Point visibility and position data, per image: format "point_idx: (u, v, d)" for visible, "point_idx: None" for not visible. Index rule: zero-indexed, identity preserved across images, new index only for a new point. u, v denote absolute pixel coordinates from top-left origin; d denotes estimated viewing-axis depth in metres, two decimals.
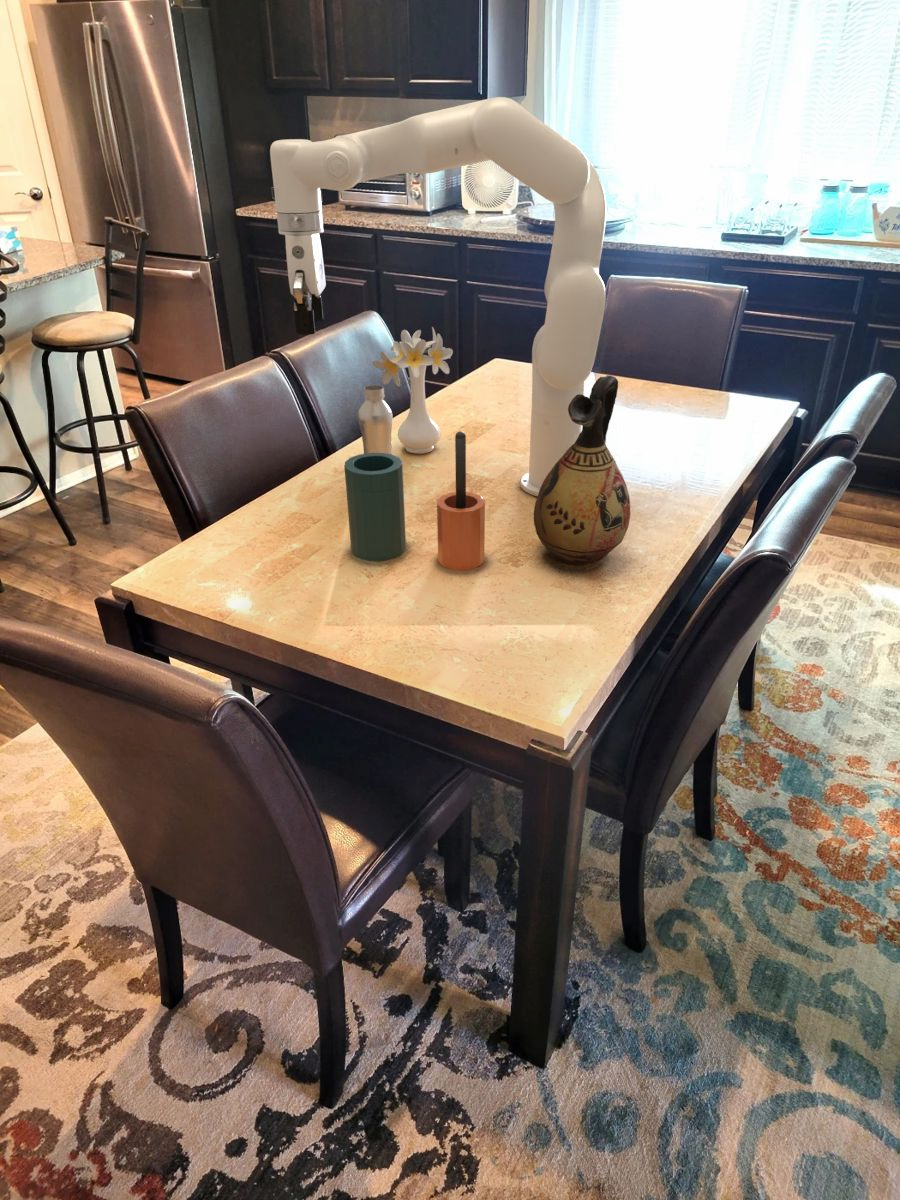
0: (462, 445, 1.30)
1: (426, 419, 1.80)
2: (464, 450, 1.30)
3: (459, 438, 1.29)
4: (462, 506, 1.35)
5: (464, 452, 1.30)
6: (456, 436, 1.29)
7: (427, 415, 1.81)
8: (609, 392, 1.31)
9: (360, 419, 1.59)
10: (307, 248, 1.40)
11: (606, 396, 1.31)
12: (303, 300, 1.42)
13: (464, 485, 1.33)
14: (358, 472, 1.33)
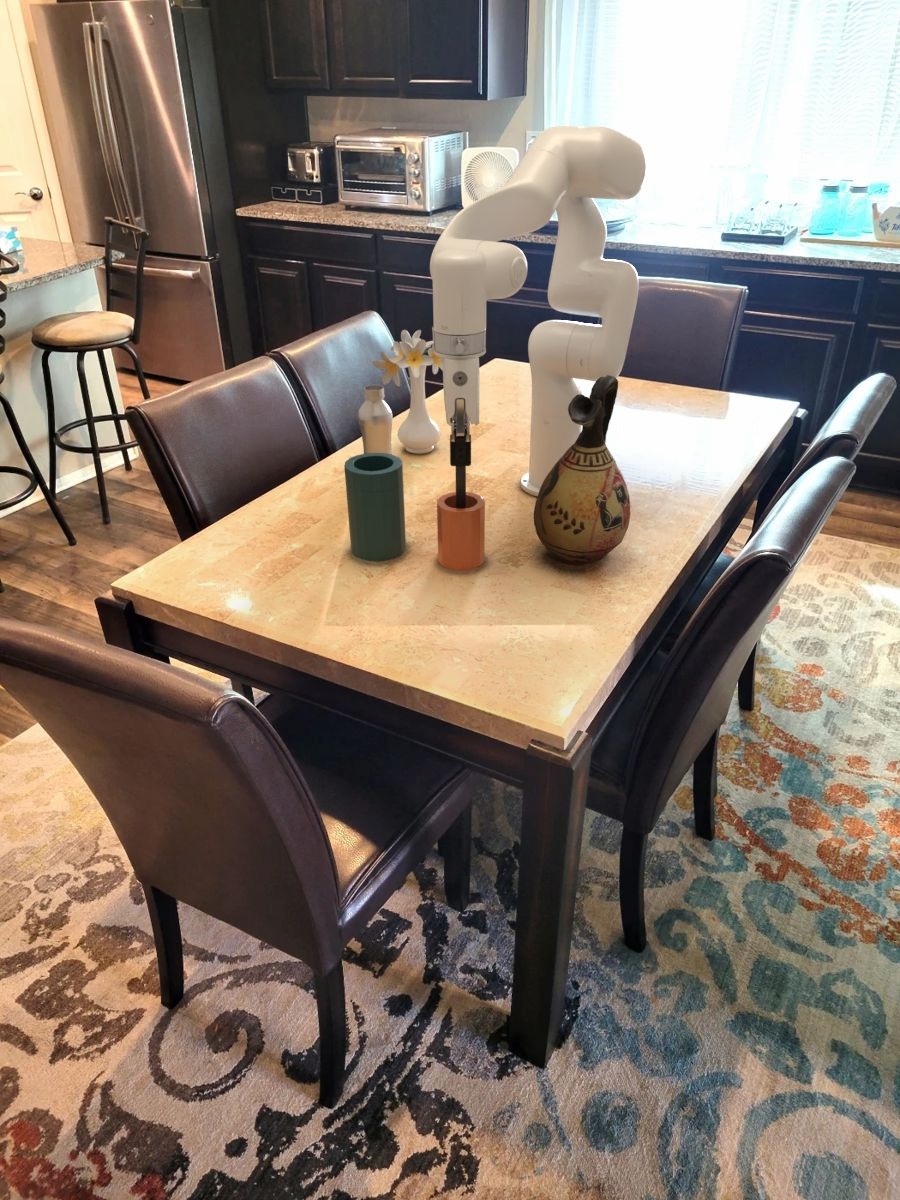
0: None
1: (426, 419, 1.80)
2: None
3: None
4: (462, 506, 1.35)
5: None
6: None
7: (427, 415, 1.81)
8: (609, 392, 1.31)
9: (360, 419, 1.59)
10: (471, 374, 1.20)
11: (606, 396, 1.31)
12: (464, 433, 1.25)
13: (464, 485, 1.33)
14: (358, 472, 1.33)
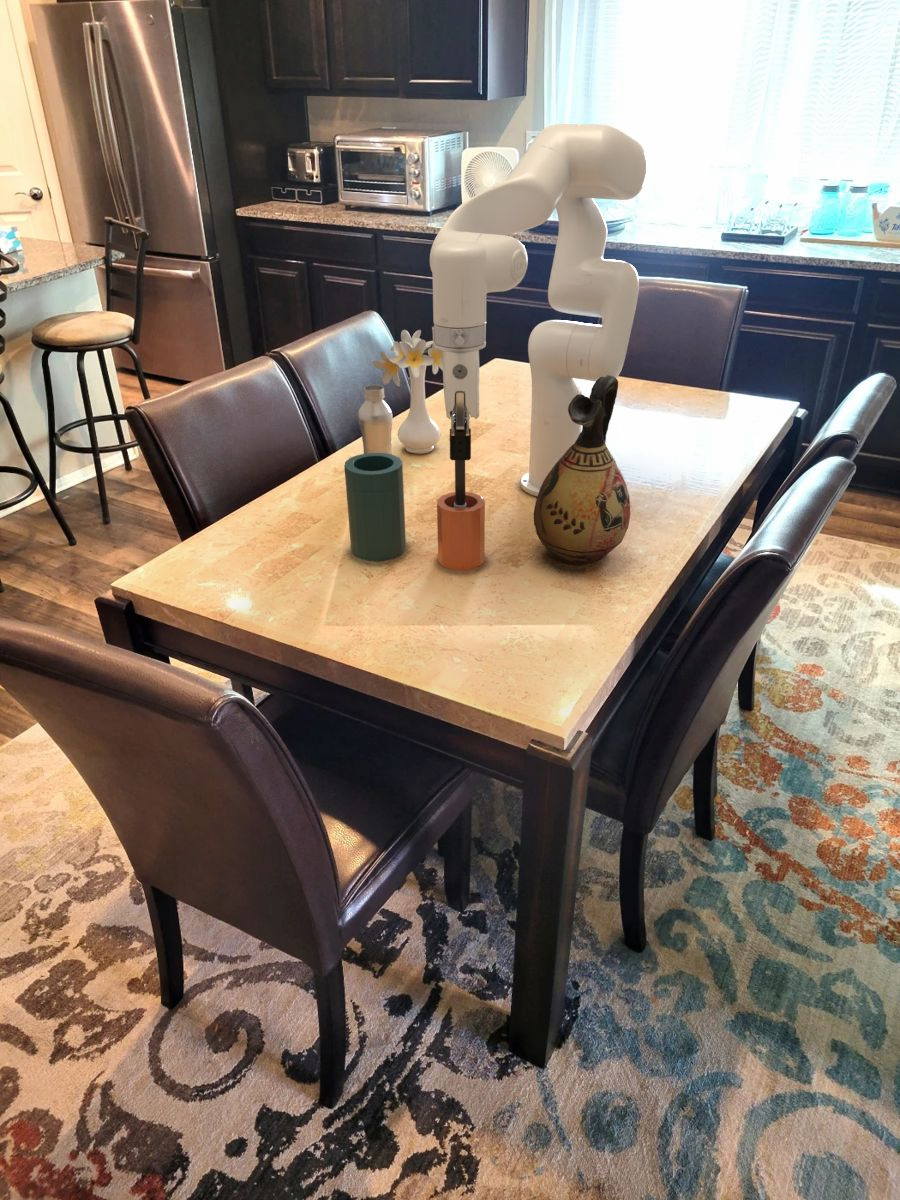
0: None
1: (426, 419, 1.80)
2: None
3: None
4: (461, 500, 1.34)
5: None
6: None
7: (427, 415, 1.81)
8: (609, 392, 1.31)
9: (360, 419, 1.59)
10: (471, 366, 1.19)
11: (606, 396, 1.31)
12: (464, 426, 1.25)
13: (463, 479, 1.33)
14: (358, 472, 1.33)
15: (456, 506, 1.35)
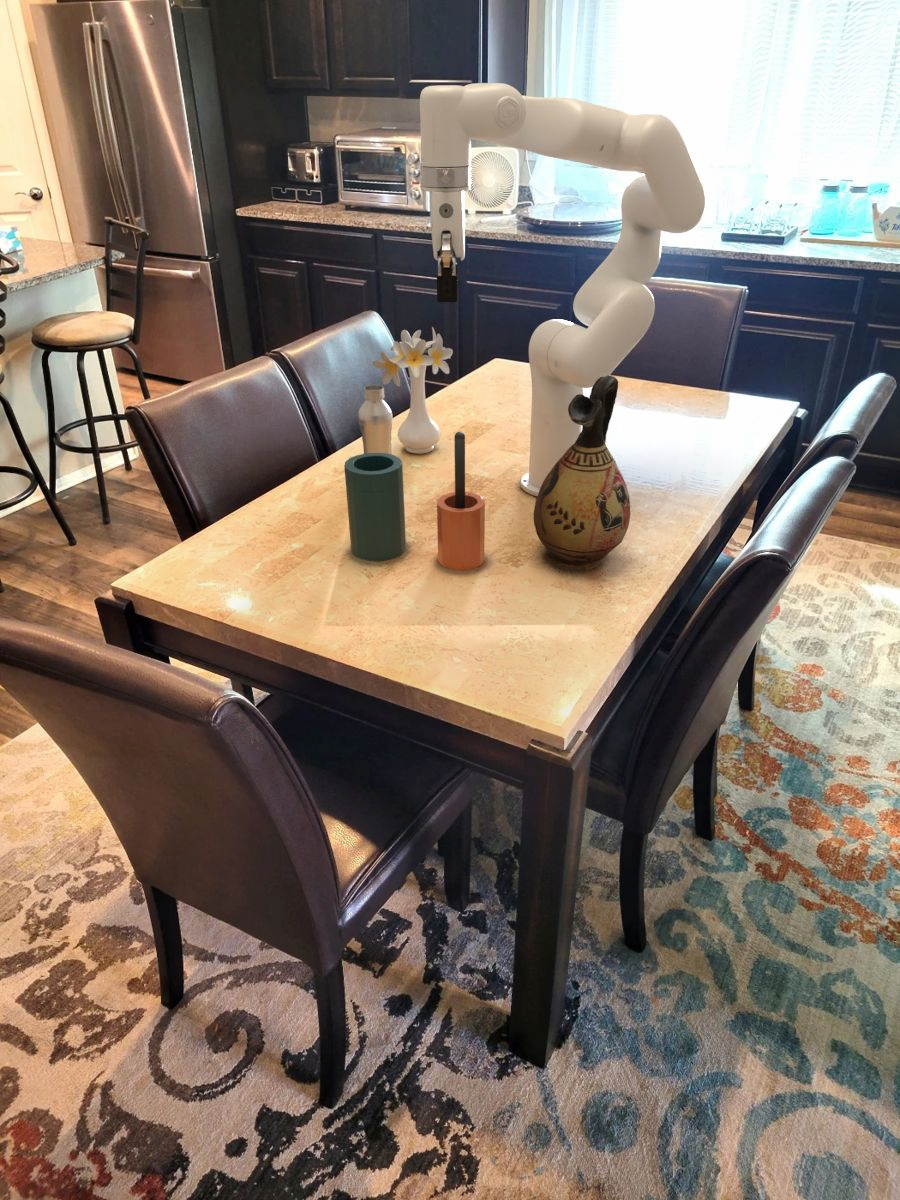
0: (461, 445, 1.30)
1: (426, 419, 1.80)
2: (464, 451, 1.30)
3: (459, 439, 1.29)
4: (461, 506, 1.35)
5: (463, 452, 1.30)
6: (455, 436, 1.29)
7: (427, 415, 1.81)
8: (609, 392, 1.31)
9: (360, 419, 1.59)
10: (456, 205, 1.28)
11: (606, 396, 1.31)
12: (450, 263, 1.29)
13: (463, 485, 1.33)
14: (358, 472, 1.33)
15: None
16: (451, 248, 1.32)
